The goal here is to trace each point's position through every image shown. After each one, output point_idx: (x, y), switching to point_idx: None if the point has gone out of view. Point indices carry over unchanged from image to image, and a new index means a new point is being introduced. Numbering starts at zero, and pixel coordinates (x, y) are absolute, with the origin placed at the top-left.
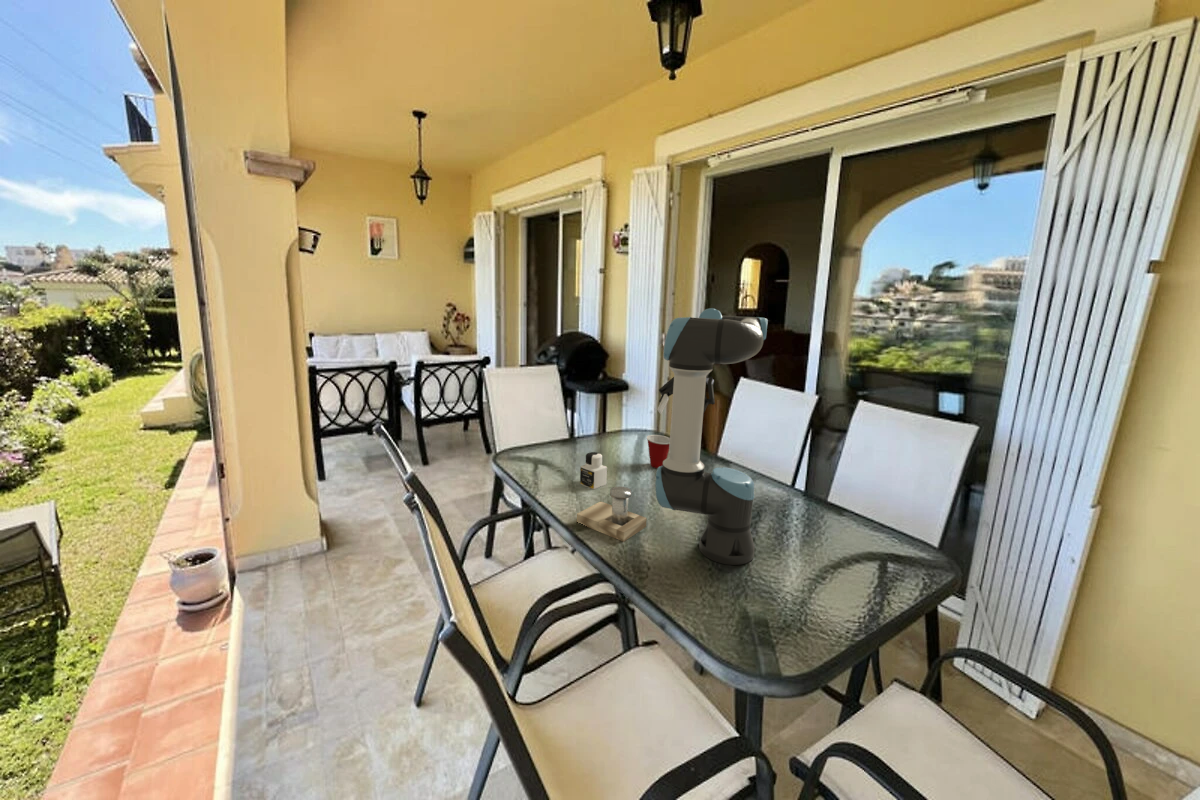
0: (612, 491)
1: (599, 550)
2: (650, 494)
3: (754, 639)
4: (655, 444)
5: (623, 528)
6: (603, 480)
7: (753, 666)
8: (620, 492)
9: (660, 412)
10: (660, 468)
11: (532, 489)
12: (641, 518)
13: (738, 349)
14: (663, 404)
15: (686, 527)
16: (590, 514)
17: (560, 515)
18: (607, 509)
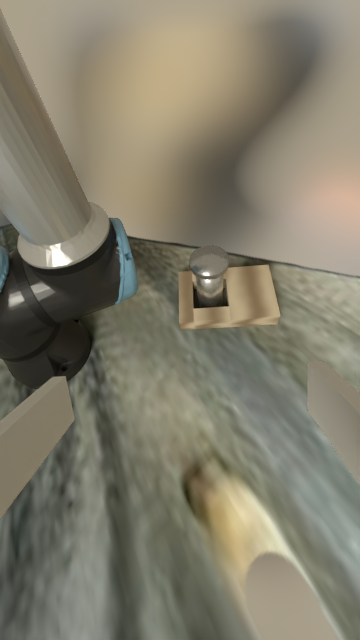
0: (217, 249)
1: (190, 252)
2: (264, 453)
3: (7, 249)
4: None
5: (186, 278)
6: None
7: (7, 230)
8: (204, 255)
9: (308, 393)
10: (114, 222)
11: None
12: (184, 315)
13: None
14: (336, 416)
15: (128, 372)
16: (252, 275)
17: (301, 273)
18: (246, 302)
